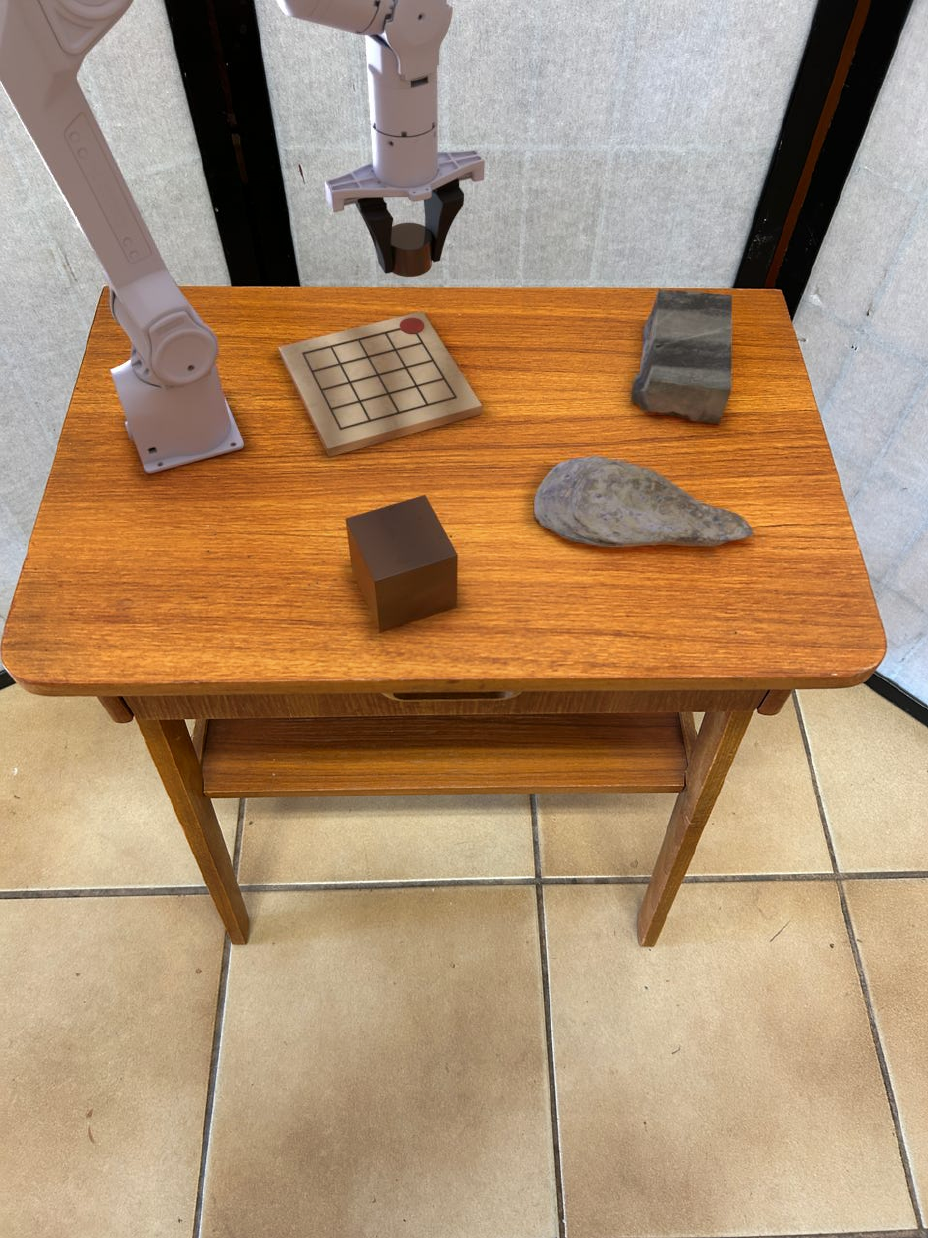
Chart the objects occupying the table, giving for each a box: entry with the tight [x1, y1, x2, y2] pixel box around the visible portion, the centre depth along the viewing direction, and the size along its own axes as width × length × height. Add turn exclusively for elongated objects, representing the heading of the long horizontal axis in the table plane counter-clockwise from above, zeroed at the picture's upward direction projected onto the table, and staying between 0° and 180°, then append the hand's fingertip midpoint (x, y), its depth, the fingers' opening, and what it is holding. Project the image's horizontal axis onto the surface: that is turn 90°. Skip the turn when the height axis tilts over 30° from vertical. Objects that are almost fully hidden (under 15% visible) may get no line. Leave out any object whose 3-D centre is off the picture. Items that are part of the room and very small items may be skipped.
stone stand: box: [345, 494, 459, 633], centre depth 79 cm, size 7×7×7 cm
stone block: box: [631, 288, 733, 425], centre depth 97 cm, size 9×14×5 cm, turn 171°
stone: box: [533, 455, 755, 548], centre depth 86 cm, size 20×4×10 cm
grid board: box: [278, 310, 483, 458], centre depth 96 cm, size 16×16×1 cm
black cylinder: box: [391, 222, 433, 278], centre depth 91 cm, size 4×4×3 cm
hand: (409, 261), depth 92 cm, fingers closed on black cylinder, 4 cm apart
